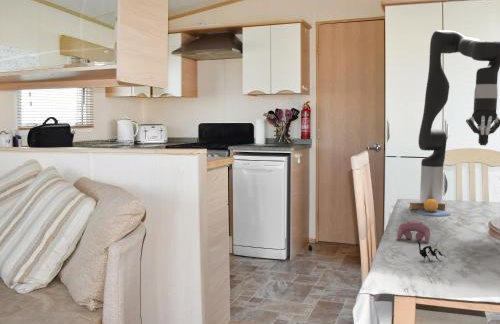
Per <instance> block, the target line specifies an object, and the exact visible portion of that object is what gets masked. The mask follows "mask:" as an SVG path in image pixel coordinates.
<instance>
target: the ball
mask: <svg viewBox="0 0 500 324" xmlns="http://www.w3.org/2000/svg"><path fill="white" fill-rule="evenodd" d="M424 208H425V209H426V210H427V211H428V212H434V211H436V210H437V208H438V203H437V201H436V200H434V199H427V200H426V201H425V202H424Z"/></svg>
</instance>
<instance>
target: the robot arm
mask: <svg viewBox="0 0 500 324" xmlns="http://www.w3.org/2000/svg"><path fill="white" fill-rule="evenodd" d="M430 38H431V39H430V44H429V60H428V61H429V65H428V72H427V73H428V75H427V82H426V88H425V95H424V96H425V97H424V108H423V115H422V121H421V125H420V129H419V134H418V140H417V141H418V147H419V149H420V150H421V151H429V152H430V151H433V152H432V154H431V155H429V156H427V157H424V158H422V159H421V163H420V164H421V166H420V168H421V169H420V189H419V190H420V191H419V203H424V202H425V201H426V200H427V199H434V200H436V201H437V203H443V201H442V200H443V183H444V182H443V180H444V163H445V159H446V149H447V135H446V131H444V130H443V129H433V128H432V127H433V123H434V121H435V119H436V117H437V116H438V115H439V113H440V112H441V111H442V110H443V109H444V107H445V106H446V104H447V102H448V101H449V100H448V99H449V94H450V92H449V91H450V82H449V79H448V78H447V75H446V73H445V72H444V70H443V66H442V54H454V53H455V54H456V53H460V54H461V55H462V56H465V57H467V58H471V59H473V60H474V61H479V62H488V64H487V66H486V67H485V66H484V67H481V68H479V69H477V70H476V74H475V75H476V76H475V78H476V79H475V88H474V93H473V94H474V96H473V98H474V99H473V112H472V113H471V114H472V115H471V117H469V118H468V119H466V120H465V122H466V125H468V127H469V128H470V130H471V131H472V132H473V133H474V134H477V135H478V140H477V141H478V144H479V145H480V146H487V145H488V143H489V135H491V134H494V133H495V132H496V131H497V130H498V128H500V118H499V117H498V113H497V109H498V108H497V107H498V105H497V104H498V78H499V77H498V75H499V70H500V41H497V40H494V41H493V40H482V39H480V38H475V37H467V36H465V35H463V34H462V33H460V32H457V31H455V30H436V31H434V32H433V33H432V34H431V37H430ZM475 123H476V124H477V126H476V124H475ZM492 124H493V125H492Z"/></svg>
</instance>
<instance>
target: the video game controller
mask: <svg viewBox="0 0 500 324" xmlns="http://www.w3.org/2000/svg"><path fill="white" fill-rule="evenodd" d="M412 232H416V233H415V236H414V237H415V239H416V241H422V240H423V239H424V243H426V244H428V243H429V242H430V238H431V229H430V227H429V226H428V225H427V224H426V223H422V222H419V221H413V220H412V221H404V222H402V223H401V224H400V225H399V226H398V228H397V234H396V235H397V236H396V237H397V240H398V241H400V240H402V238H403V236H404V237H405V239H407V240H411V239H412V238H413V233H412Z"/></svg>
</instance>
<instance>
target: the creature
mask: <svg viewBox="0 0 500 324" xmlns="http://www.w3.org/2000/svg"><path fill="white" fill-rule="evenodd" d="M416 242H417V243H418V248H419V249H418V250H419V254H420V256H421V257H423V259H427V258H428V262H431V260H430V259H431V257H429V256H428V254H429V255H431V256H432V257H435V258H436V259H435V260H437V261H439V262H440V263H443V261H442V260H440V259H439V258H438V256H437V253H438V255H440V257H444V258H447V256H446V255H444V254H443V253H442V252H441V251H440V250H438V249H437V248H436V247H437V245H438V243H437V244H435V245H434V246H433V245H426V246H424V247H423V248H421V243H420V240H416ZM432 246H433V247H432ZM427 249H428V250H427ZM426 257H427V258H426Z"/></svg>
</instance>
